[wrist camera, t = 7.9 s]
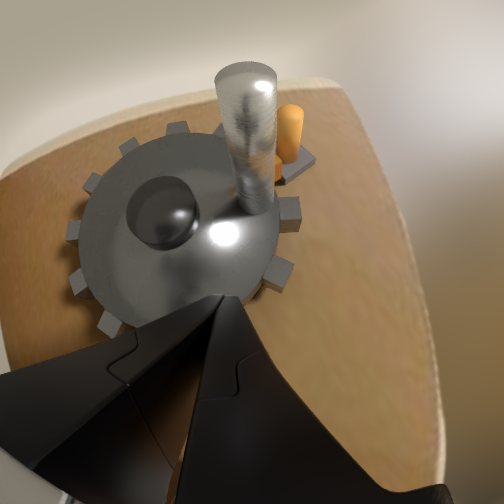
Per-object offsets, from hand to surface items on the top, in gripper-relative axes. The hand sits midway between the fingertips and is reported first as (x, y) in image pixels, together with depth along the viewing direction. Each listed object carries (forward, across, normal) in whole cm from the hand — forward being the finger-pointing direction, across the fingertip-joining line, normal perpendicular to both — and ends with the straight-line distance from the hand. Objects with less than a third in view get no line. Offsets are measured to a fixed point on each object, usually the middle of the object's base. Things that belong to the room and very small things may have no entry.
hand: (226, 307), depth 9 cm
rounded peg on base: (+15, +2, +2) cm, 15 cm away
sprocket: (+9, -5, -1) cm, 11 cm away
